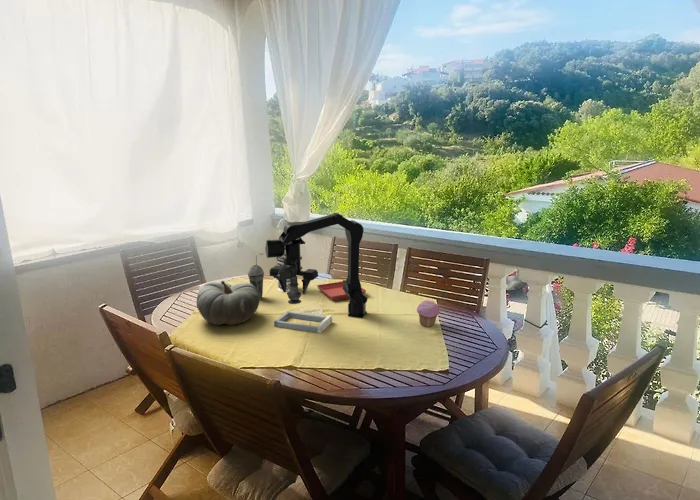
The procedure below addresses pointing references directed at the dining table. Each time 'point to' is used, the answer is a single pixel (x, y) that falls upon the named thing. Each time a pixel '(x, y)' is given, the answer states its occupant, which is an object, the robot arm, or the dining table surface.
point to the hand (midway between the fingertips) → (294, 293)
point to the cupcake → (428, 313)
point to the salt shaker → (294, 291)
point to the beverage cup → (256, 278)
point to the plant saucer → (335, 290)
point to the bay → (318, 329)
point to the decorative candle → (279, 263)
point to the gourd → (227, 302)
